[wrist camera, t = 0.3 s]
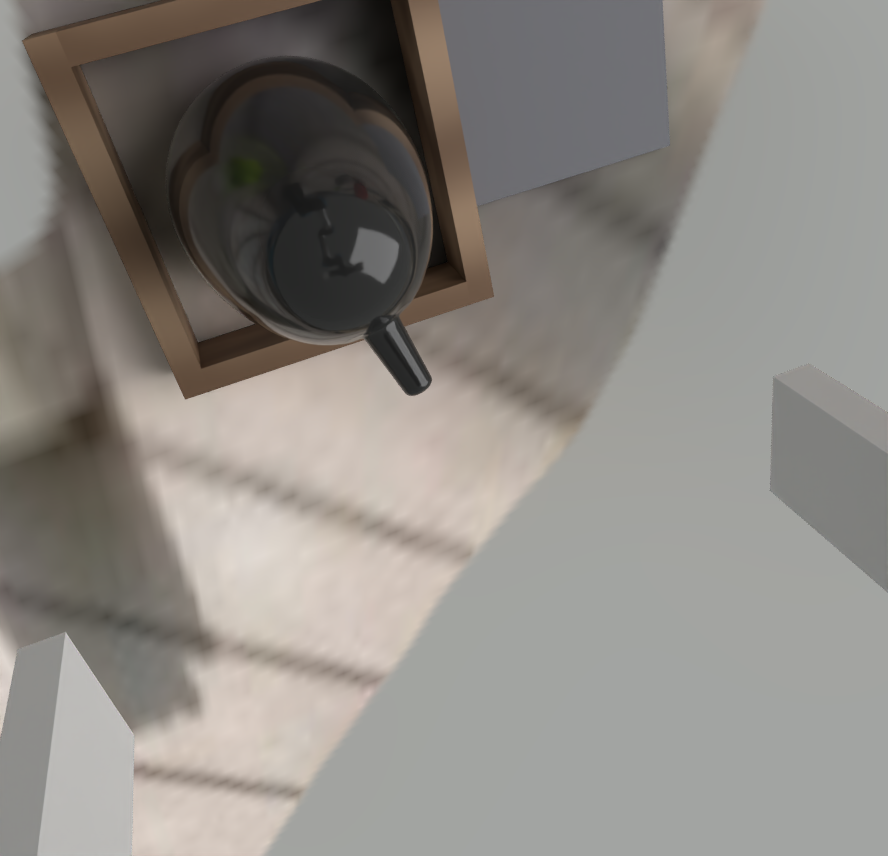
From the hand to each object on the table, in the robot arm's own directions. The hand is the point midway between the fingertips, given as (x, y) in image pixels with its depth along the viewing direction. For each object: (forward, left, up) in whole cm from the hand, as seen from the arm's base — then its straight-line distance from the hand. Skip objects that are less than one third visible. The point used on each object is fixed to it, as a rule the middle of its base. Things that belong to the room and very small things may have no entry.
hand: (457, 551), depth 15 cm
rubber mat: (-3, +14, -27) cm, 31 cm away
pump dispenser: (-1, +1, -27) cm, 27 cm away
